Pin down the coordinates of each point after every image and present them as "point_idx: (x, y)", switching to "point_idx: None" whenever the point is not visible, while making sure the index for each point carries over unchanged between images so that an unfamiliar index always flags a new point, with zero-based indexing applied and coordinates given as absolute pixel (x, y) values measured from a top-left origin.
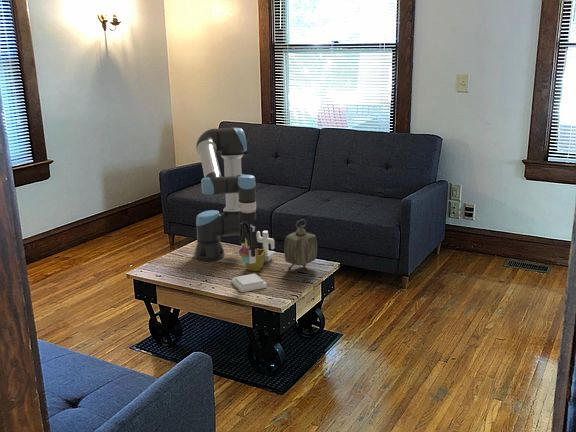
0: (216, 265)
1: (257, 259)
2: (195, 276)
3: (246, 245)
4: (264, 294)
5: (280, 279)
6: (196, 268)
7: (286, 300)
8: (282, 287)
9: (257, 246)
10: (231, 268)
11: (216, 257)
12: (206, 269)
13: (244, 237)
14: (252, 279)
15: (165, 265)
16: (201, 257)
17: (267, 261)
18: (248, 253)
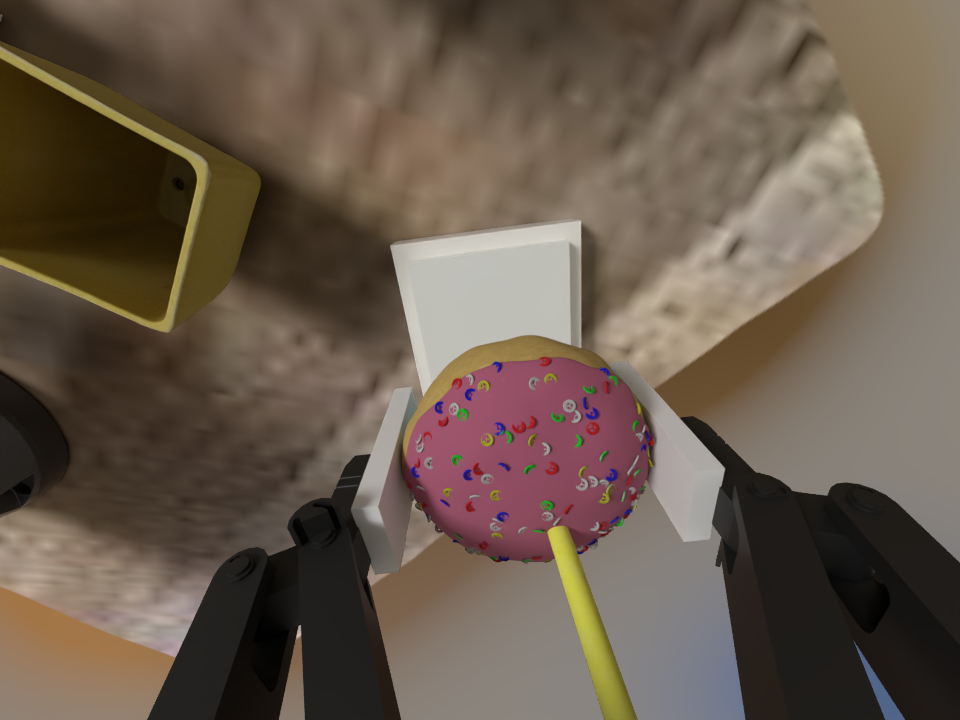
0: (135, 417)
1: (225, 204)
2: None
3: (583, 575)
4: (664, 264)
5: (465, 51)
6: (186, 506)
7: (830, 151)
8: (621, 97)
9: (918, 524)
10: (189, 350)
11: (20, 415)
12: (203, 470)
13: (384, 661)
14: (513, 309)
15: (145, 599)
16: (42, 491)
17: (1, 18)
18: (639, 493)
